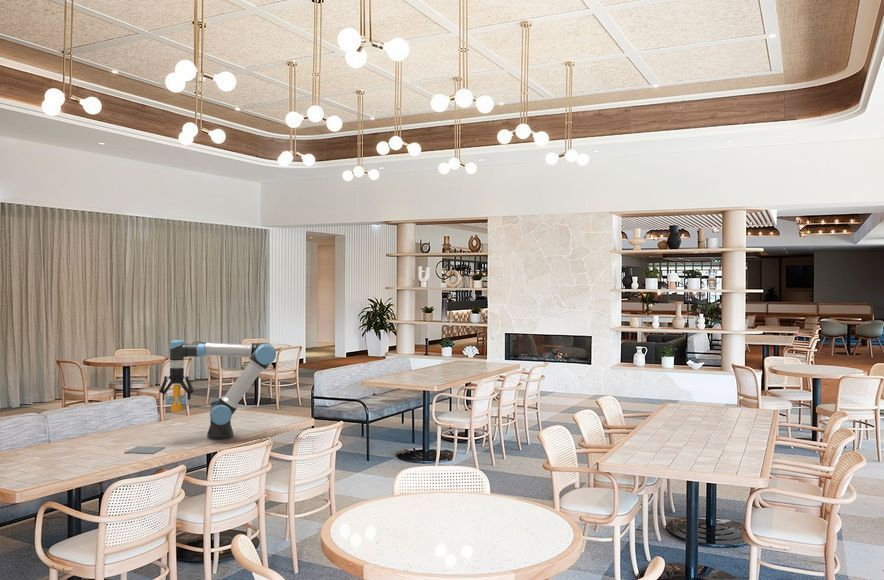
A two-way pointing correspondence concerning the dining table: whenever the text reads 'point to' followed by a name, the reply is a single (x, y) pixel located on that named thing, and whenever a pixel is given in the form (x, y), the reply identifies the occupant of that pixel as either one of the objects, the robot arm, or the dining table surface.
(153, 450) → the card
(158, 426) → the dining table surface
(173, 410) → the orange hollow ringed part
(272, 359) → the robot arm
